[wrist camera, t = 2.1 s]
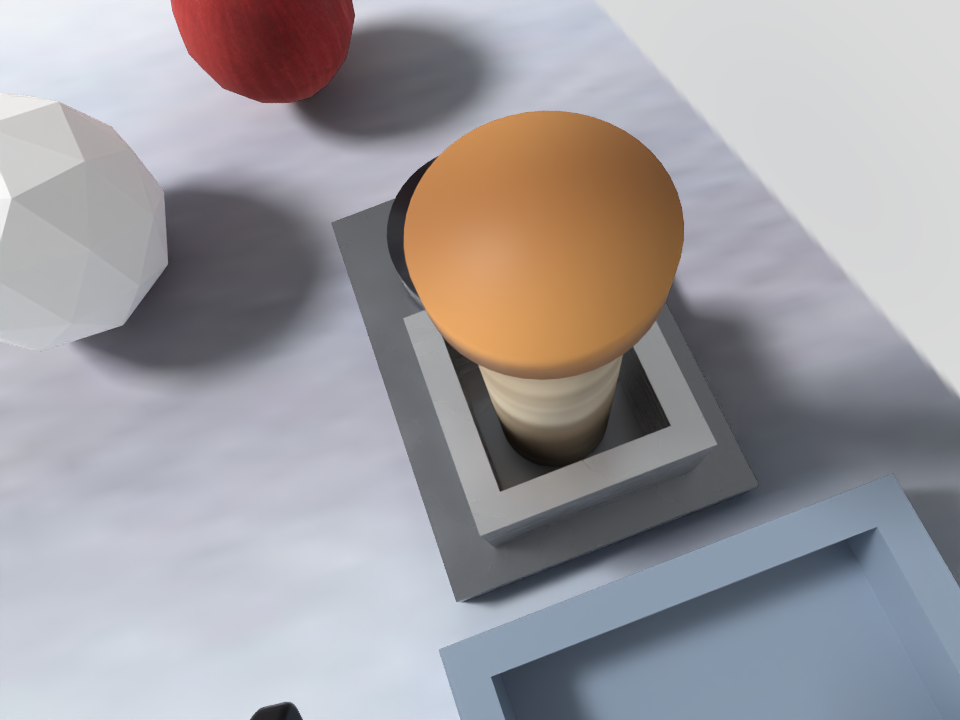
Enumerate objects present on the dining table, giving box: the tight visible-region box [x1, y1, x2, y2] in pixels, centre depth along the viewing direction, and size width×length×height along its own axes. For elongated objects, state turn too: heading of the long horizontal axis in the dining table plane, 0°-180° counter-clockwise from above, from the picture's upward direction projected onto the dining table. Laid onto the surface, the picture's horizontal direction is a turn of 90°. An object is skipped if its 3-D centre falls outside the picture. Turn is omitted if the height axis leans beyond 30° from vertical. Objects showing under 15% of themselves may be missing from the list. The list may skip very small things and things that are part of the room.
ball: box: [0, 93, 168, 352], centre depth 22 cm, size 8×8×8 cm
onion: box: [171, 0, 355, 103], centre depth 24 cm, size 6×6×8 cm
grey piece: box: [332, 157, 759, 602], centre depth 21 cm, size 13×9×4 cm
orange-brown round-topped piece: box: [404, 111, 684, 467], centre depth 16 cm, size 4×4×11 cm
